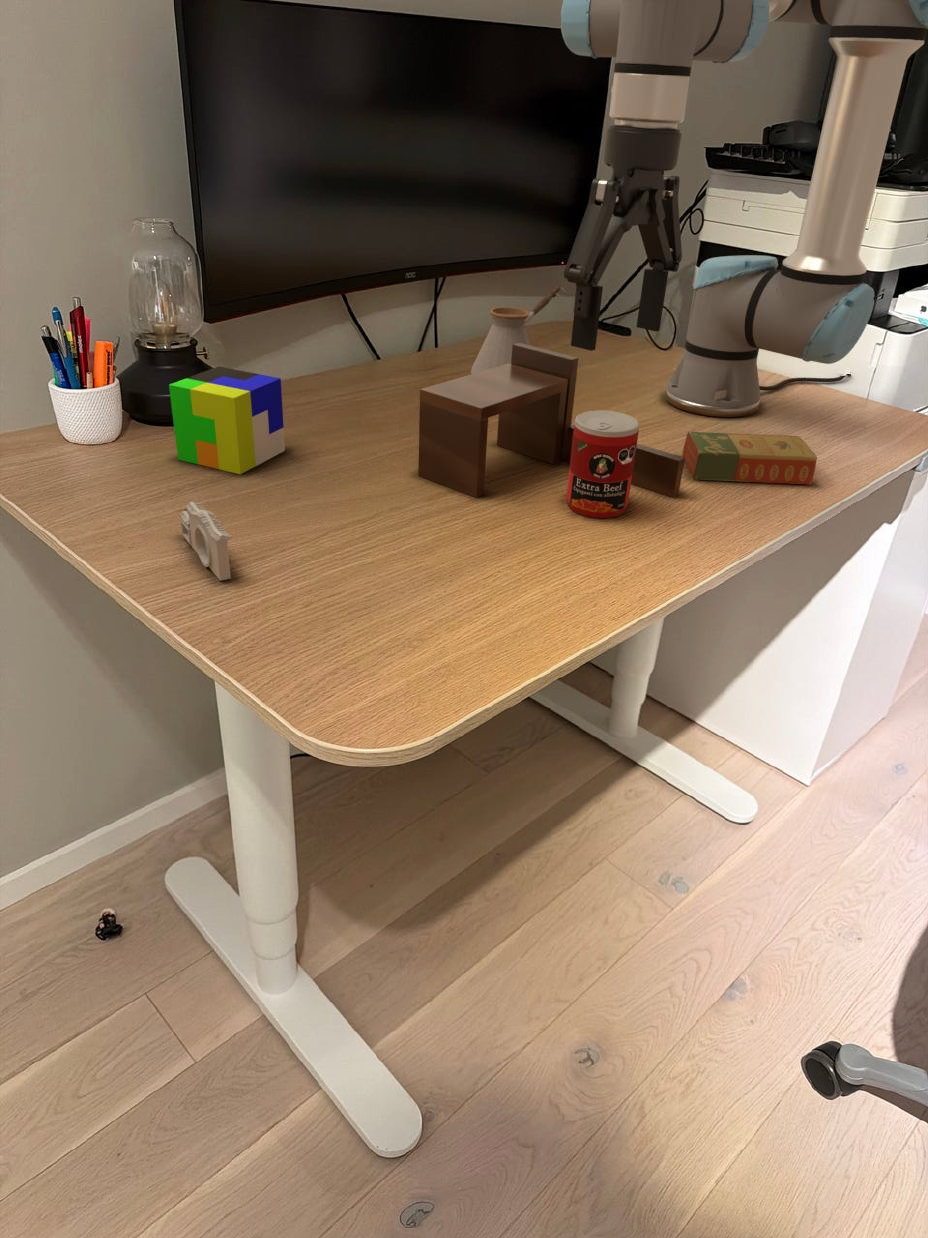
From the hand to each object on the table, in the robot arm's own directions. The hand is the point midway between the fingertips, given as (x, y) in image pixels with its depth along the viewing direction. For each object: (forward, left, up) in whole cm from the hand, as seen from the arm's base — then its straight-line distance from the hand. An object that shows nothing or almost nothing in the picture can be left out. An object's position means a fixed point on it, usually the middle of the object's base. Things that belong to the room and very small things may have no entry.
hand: (616, 338), depth 103 cm
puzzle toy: (+22, -44, -21) cm, 53 cm away
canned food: (0, 0, -21) cm, 21 cm away
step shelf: (-1, -8, -21) cm, 22 cm away
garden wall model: (+42, -22, -21) cm, 52 cm away
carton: (-25, +8, -21) cm, 34 cm away
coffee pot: (-34, -38, -21) cm, 55 cm away
